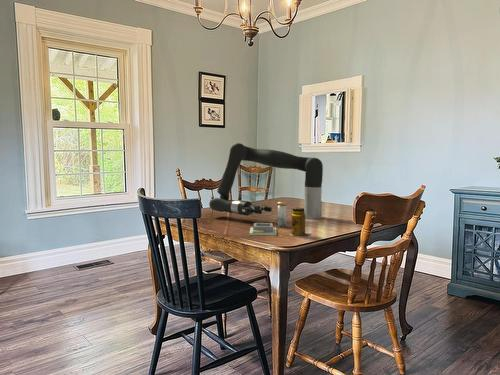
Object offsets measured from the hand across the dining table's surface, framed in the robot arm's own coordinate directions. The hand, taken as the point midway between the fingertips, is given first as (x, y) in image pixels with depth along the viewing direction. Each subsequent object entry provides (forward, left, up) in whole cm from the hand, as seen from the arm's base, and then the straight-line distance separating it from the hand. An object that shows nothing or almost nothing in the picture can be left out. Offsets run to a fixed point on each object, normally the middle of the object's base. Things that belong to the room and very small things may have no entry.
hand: (266, 210), depth 192 cm
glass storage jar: (-8, +5, -7) cm, 12 cm away
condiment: (-15, +23, -7) cm, 28 cm away
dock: (+1, +19, -7) cm, 20 cm away
